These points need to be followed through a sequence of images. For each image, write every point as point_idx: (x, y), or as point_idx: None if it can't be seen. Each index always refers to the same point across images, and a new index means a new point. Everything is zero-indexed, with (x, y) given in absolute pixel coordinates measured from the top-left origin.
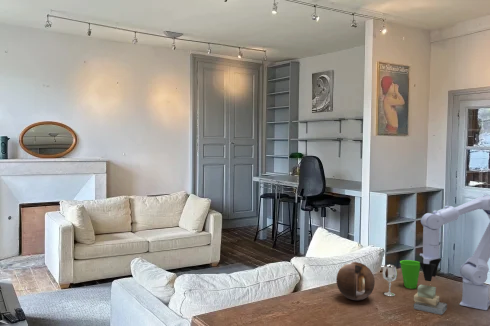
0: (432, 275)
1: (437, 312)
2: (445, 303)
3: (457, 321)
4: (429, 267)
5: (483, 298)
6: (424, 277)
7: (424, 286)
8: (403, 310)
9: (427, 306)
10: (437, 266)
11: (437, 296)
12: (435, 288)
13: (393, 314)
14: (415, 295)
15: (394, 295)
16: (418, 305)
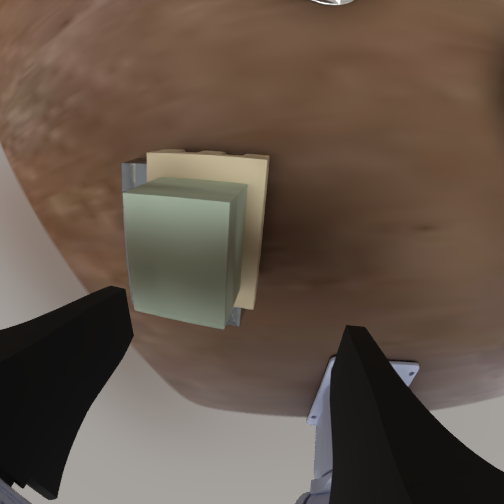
0: (337, 358)
1: None
2: (237, 320)
3: None
4: (29, 427)
5: (317, 450)
6: (85, 297)
7: (181, 244)
8: (91, 122)
9: (125, 238)
10: (331, 495)
11: (238, 299)
12: (216, 322)
13: (37, 110)
14: (164, 160)
15: (320, 3)
16: (124, 188)
